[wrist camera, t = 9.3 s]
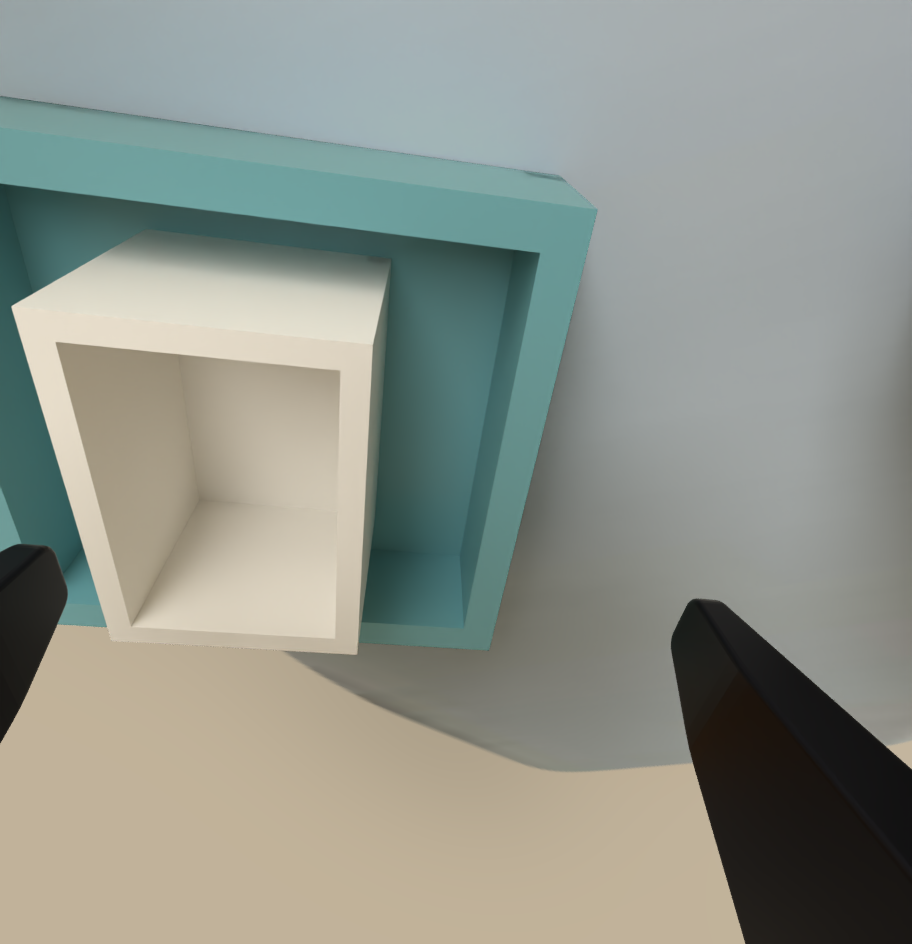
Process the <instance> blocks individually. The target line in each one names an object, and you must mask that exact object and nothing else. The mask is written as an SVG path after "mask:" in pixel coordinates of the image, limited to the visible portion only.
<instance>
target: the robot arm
mask: <svg viewBox="0 0 912 944" xmlns="http://www.w3.org/2000/svg"><path fill="white" fill-rule="evenodd" d="M67 598H68V588H67V584H66V582H65V579H64V576H63V573H62V570H61V567H60V565H59V562H58V559H57V556H56V554H55V552H54V550H53V549H52V548H51V547H49V546H46V545H34V544H16V545H13V546H11V547H8V548H6V549H4V550H3V551H1V552H0V743H1V741H2V740H3V738H4V736H5V734H6V733H7V731H8V729H9V727H10V726H11V724H12V722H13V720H14V718H15V716H16V714H17V713H18V711H19V709H20V707H21V705H22V703H23V701H24V699H25V696H26V694H27V692H28V690H29V688H30V685H31V683H32V681H33V679H34V677H35V674H36V672H37V670H38V667H39V665H40V663H41V661H42V658H43V656H44V654H45V651H46V649H47V647H48V645H49V642H50V640H51V638H52V635H53V633H54V631H55V628H56V626H57V624H58V622H59V620H60V617H61V615H62V613H63V610H64V608H65V606H66V603H67ZM671 651H672V657H673V663H674V668H675V674H676V680H677V685H678V691H679V696H680V702H681V708H682V713H683V719H684V724H685V730H686V735H687V740H688V745H689V750H690V753H691V757H692V761H693V765H694V768H695V772H696V775H697V779H698V782H699V785H700V789H701V792H702V796H703V799H704V803H705V806H706V810H707V813H708V816H709V820H710V823H711V827H712V830H713V834H714V837H715V840H716V844H717V847H718V851H719V854H720V858H721V861H722V865H723V868H724V872H725V875H726V878H727V882H728V885H729V889H730V892H731V895H732V899H733V903H734V906H735V909H736V913H737V916H738V920H739V923H740V926H741V930H742V934H743V937H744V940H745V944H912V769H911V768H910V767H908V766H907V765H906V764H905V763H904V762H903V761H902V760H900V759H899V758H898V757H897V756H896V755H895V754H894V753H892V752H891V751H890V750H889V749H888V748H887V747H886V746H885V745H884V744H882V743H881V742H880V741H879V740H878V739H877V738H876V737H874V736H873V735H872V734H871V733H870V732H869V731H868V730H867V729H865V728H864V727H863V726H862V725H861V724H860V723H859V722H858V721H856V720H855V719H854V718H853V717H852V716H851V715H850V714H848V713H847V712H846V711H845V710H844V709H843V708H842V707H841V706H839V705H838V704H837V703H836V702H835V701H834V700H833V699H831V698H830V697H829V696H828V695H827V694H826V693H825V692H824V691H822V690H821V689H820V688H819V687H818V686H817V685H816V684H815V683H813V682H812V681H811V680H810V679H809V678H808V677H807V676H805V675H804V674H803V673H802V672H801V671H800V670H799V669H798V668H796V667H795V666H794V665H793V664H792V663H791V662H790V661H789V660H787V659H786V658H785V657H784V656H783V655H782V654H781V653H779V652H778V651H777V650H776V649H775V648H774V647H773V646H772V645H770V644H769V643H768V642H767V641H766V640H765V639H764V638H762V637H761V636H760V635H759V634H758V633H757V632H756V631H755V630H753V629H752V628H751V627H750V626H749V625H748V624H747V623H746V622H744V621H743V620H742V619H741V618H740V617H739V616H738V615H736V614H735V613H734V612H733V611H732V610H731V609H730V608H729V607H727V606H726V605H725V604H724V603H722V602H720V601H718V600H709V599H692V600H691V601H690V602H689V603H688V604H687V606H686V608H685V610H684V612H683V614H682V616H681V618H680V620H679V622H678V624H677V626H676V628H675V630H674V632H673V635H672V639H671Z"/></svg>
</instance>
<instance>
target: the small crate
mask: <svg viewBox="0 0 912 944" xmlns="http://www.w3.org/2000/svg"><path fill="white" fill-rule="evenodd" d="M390 274H391V259H390V258H382V257H373V256H365V255H357V254H349V253H340V252H332V251H324V250H315V249H307V248H299V247H291V246H282V245H274V244H266V243H257V242H249V241H241V240H233V239H224V238H216V237H208V236H199V235H191V234H183V233H175V232H166V231H158V230H150V229H145V230H143V231H141V232H140V233H138V234H136V235H134V236H133V237H131V238H129V239H128V240H126V241H124V242H122V243H121V244H119V245H117V246H115V247H114V248H112V249H110V250H108V251H107V252H105V253H103V254H101V255H100V256H98V257H96V258H94V259H93V260H91V261H89V262H87V263H86V264H84V265H82V266H80V267H79V268H77V269H75V270H74V271H72V272H70V273H68V274H67V275H65V276H63V277H61V278H60V279H58V280H56V281H54V282H53V283H51V284H49V285H47V286H46V287H44V288H42V289H40V290H39V291H37V292H35V293H33V294H32V295H30V296H28V297H26V298H25V299H23V300H21V301H19V302H18V303H16V304H14V305H13V306H11V308H12V311H13V314H14V318H15V321H16V324H17V328H18V331H19V334H20V338H21V341H22V344H23V348H24V351H25V354H26V358H27V361H28V364H29V368H30V371H31V374H32V378H33V381H34V384H35V388H36V391H37V394H38V398H39V401H40V404H41V408H42V411H43V414H44V418H45V421H46V424H47V428H48V431H49V434H50V438H51V441H52V445H53V448H54V451H55V455H56V458H57V461H58V465H59V468H60V471H61V475H62V478H63V481H64V485H65V488H66V491H67V495H68V498H69V501H70V505H71V508H72V511H73V515H74V518H75V521H76V525H77V528H78V531H79V535H80V538H81V541H82V545H83V548H84V551H85V555H86V558H87V561H88V565H89V568H90V571H91V575H92V578H93V581H94V585H95V588H96V591H97V595H98V598H99V601H100V605H101V608H102V611H103V615H104V618H105V621H106V625H107V628H108V631H109V635H110V638H111V641H121V642H140V643H158V644H175V645H192V646H193V645H194V646H210V647H228V648H246V649H264V650H281V651H299V652H317V653H335V654H352V655H357V652H358V644H359V637H360V629H361V621H362V613H363V606H364V598H365V590H366V583H367V575H368V567H369V559H370V552H371V544H372V536H373V529H374V521H375V510H376V494H377V478H378V463H379V447H380V431H381V416H382V400H383V384H384V368H385V353H386V337H387V321H388V306H389V290H390Z"/></svg>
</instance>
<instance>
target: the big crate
mask: <svg viewBox="0 0 912 944" xmlns="http://www.w3.org/2000/svg"><path fill="white" fill-rule="evenodd" d="M597 210H598V209H596V208H595V207H594V206H593V205H592V204H591V203H590V202H589V201H588V200H586V199H585V198H584V197H583V196H582V195H581V194H580V193H579V192H577V191H576V190H575V189H574V188H573V187H572V186H571V185H570V184H568V183H567V182H566V181H565V180H564V179H563V178H562V177H561V176H558V175H551V174H544V173H537V172H530V171H523V170H516V169H509V168H502V167H495V166H488V165H481V164H474V163H467V162H459V161H452V160H445V159H438V158H431V157H424V156H417V155H410V154H403V153H396V152H389V151H382V150H375V149H368V148H361V147H354V146H347V145H340V144H333V143H326V142H319V141H312V140H305V139H298V138H291V137H284V136H277V135H270V134H263V133H256V132H249V131H242V130H235V129H228V128H221V127H214V126H207V125H200V124H193V123H186V122H178V121H171V120H164V119H157V118H150V117H143V116H136V115H129V114H122V113H115V112H108V111H101V110H94V109H87V108H80V107H73V106H66V105H59V104H52V103H45V102H38V101H31V100H24V99H17V98H10V97H3V96H0V552H1V551H3V550H4V549H6V548H8V547H11V546H13V545H16V544H34V545H46V546H49V547H51V548H52V549H53V550H54V552H55V554H56V556H57V559H58V562H59V565H60V567H61V570H62V573H63V576H64V579H65V582H66V584H67V588H68V598H67V603H66V606H65V608H64V610H63V613H62V615H61V617H60V620H59V622H58V624H61V625H62V624H63V625H79V626H95V627H107V625H106V621H105V618H104V615H103V611H102V608H101V605H100V601H99V598H98V595H97V591H96V588H95V585H94V581H93V578H92V575H91V571H90V568H89V565H88V561H87V558H86V555H85V551H84V548H83V545H82V541H81V538H80V535H79V531H78V528H77V525H76V521H75V518H74V515H73V511H72V508H71V505H70V501H69V498H68V495H67V491H66V488H65V485H64V481H63V478H62V475H61V471H60V468H59V465H58V461H57V458H56V455H55V451H54V448H53V445H52V441H51V438H50V434H49V431H48V428H47V424H46V421H45V418H44V414H43V411H42V408H41V404H40V401H39V398H38V394H37V391H36V388H35V384H34V381H33V378H32V374H31V371H30V368H29V364H28V361H27V358H26V354H25V351H24V348H23V344H22V341H21V338H20V334H19V331H18V328H17V324H16V321H15V318H14V314H13V311H12V308H11V306H13V305H14V304H16V303H18V302H19V301H21V300H23V299H25V298H26V297H28V296H30V295H32V294H33V293H35V292H37V291H39V290H40V289H42V288H44V287H46V286H47V285H49V284H51V283H53V282H54V281H56V280H58V279H60V278H61V277H63V276H65V275H67V274H68V273H70V272H72V271H74V270H75V269H77V268H79V267H80V266H82V265H84V264H86V263H87V262H89V261H91V260H93V259H94V258H96V257H98V256H100V255H101V254H103V253H105V252H107V251H108V250H110V249H112V248H114V247H115V246H117V245H119V244H121V243H122V242H124V241H126V240H128V239H129V238H131V237H133V236H134V235H136V234H138V233H140V232H141V231H143V230H145V229H150V230H158V231H166V232H175V233H183V234H191V235H199V236H208V237H216V238H224V239H233V240H241V241H249V242H257V243H266V244H274V245H282V246H291V247H299V248H307V249H315V250H324V251H332V252H340V253H349V254H357V255H365V256H373V257H382V258H390V259H391V274H390V290H389V306H388V321H387V337H386V353H385V368H384V384H383V400H382V416H381V431H380V447H379V463H378V478H377V494H376V510H375V521H374V529H373V536H372V544H371V552H370V559H369V567H368V575H367V583H366V590H365V598H364V606H363V613H362V621H361V629H360V637H359V643H374V644H390V645H407V646H423V647H440V648H456V649H473V650H489V649H490V645H491V641H492V636H493V632H494V628H495V624H496V620H497V616H498V612H499V608H500V604H501V600H502V596H503V592H504V588H505V584H506V580H507V576H508V572H509V567H510V563H511V559H512V555H513V551H514V547H515V543H516V539H517V535H518V531H519V527H520V523H521V519H522V515H523V511H524V507H525V503H526V498H527V494H528V490H529V486H530V482H531V478H532V474H533V470H534V466H535V462H536V458H537V454H538V450H539V446H540V442H541V438H542V433H543V429H544V425H545V421H546V417H547V413H548V409H549V405H550V401H551V397H552V393H553V389H554V385H555V381H556V377H557V373H558V369H559V364H560V360H561V356H562V352H563V348H564V344H565V340H566V336H567V332H568V328H569V324H570V320H571V316H572V312H573V308H574V304H575V300H576V295H577V291H578V287H579V283H580V279H581V275H582V271H583V267H584V263H585V259H586V255H587V251H588V247H589V243H590V239H591V235H592V230H593V226H594V222H595V218H596V214H597Z"/></svg>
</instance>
